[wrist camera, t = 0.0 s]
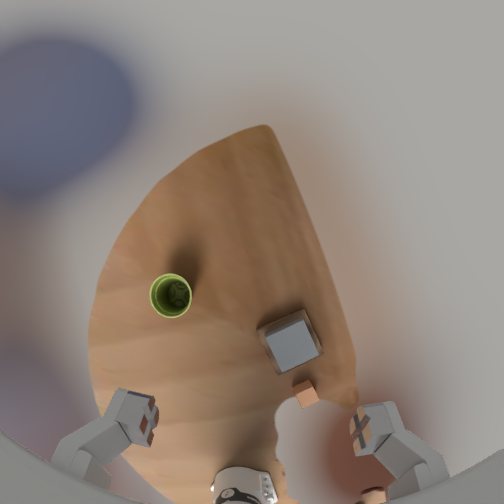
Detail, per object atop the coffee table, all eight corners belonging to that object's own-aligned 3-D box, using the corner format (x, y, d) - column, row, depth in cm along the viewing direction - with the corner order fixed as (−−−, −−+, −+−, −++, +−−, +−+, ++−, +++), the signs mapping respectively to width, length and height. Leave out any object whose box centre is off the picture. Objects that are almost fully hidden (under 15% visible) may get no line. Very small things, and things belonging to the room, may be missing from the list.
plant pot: (163, 272, 64) (151, 271, 55) (201, 276, 64) (193, 275, 55) (161, 310, 63) (148, 314, 54) (198, 315, 63) (190, 320, 54)
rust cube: (315, 392, 61) (319, 400, 56) (298, 400, 60) (302, 408, 56) (308, 379, 61) (312, 386, 56) (292, 387, 61) (295, 394, 56)
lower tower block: (320, 349, 62) (324, 353, 59) (276, 370, 62) (277, 375, 58) (301, 307, 64) (304, 308, 60) (256, 328, 63) (256, 331, 60)
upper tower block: (315, 351, 59) (319, 354, 56) (280, 367, 59) (282, 372, 55) (300, 317, 60) (303, 319, 56) (264, 334, 60) (265, 337, 56)
